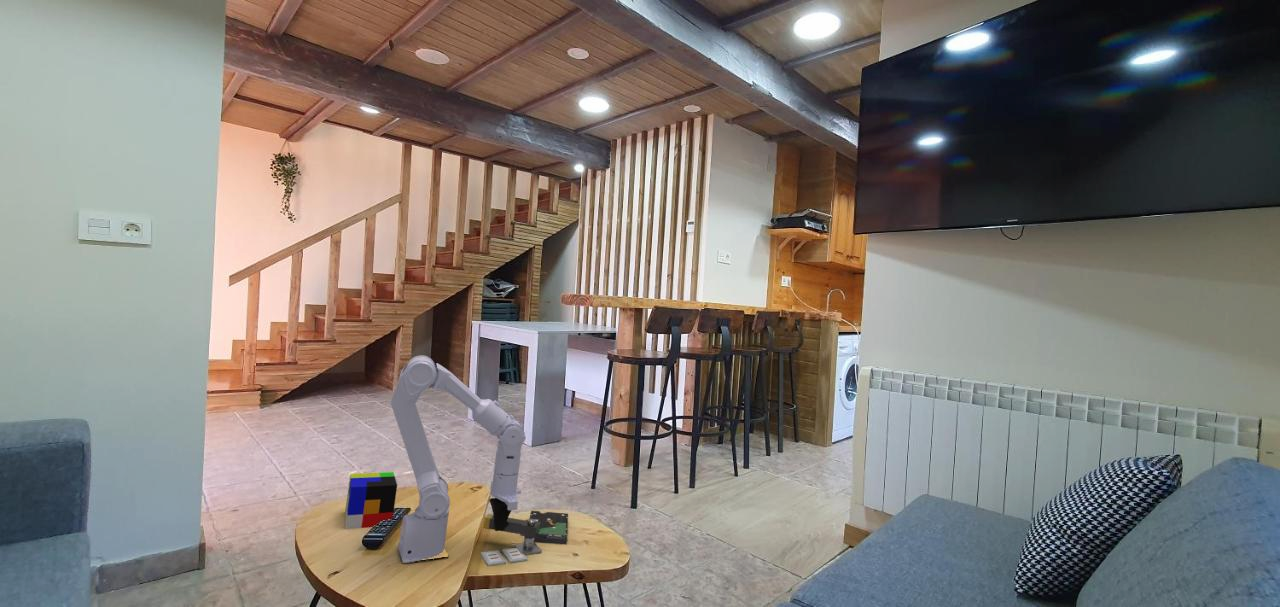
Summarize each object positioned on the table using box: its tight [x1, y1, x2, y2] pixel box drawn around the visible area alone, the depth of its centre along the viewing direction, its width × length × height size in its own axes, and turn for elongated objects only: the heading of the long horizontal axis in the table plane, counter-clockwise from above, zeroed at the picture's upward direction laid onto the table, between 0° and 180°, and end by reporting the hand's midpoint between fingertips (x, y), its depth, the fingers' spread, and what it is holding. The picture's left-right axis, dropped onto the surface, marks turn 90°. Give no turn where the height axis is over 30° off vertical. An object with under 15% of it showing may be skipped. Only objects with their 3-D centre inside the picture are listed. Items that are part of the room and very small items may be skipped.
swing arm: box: [482, 513, 541, 538], centre depth 126 cm, size 13×4×2 cm, turn 83°
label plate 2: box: [501, 547, 528, 564], centre depth 122 cm, size 4×6×1 cm, turn 32°
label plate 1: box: [480, 549, 507, 567], centre depth 119 cm, size 4×6×1 cm, turn 32°
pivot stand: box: [513, 518, 543, 556], centre depth 125 cm, size 5×5×7 cm
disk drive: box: [529, 510, 569, 545], centre depth 137 cm, size 10×3×15 cm
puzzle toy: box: [344, 471, 398, 530], centre depth 131 cm, size 10×10×10 cm
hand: (499, 529), depth 124 cm, fingers closed, pressing on swing arm
